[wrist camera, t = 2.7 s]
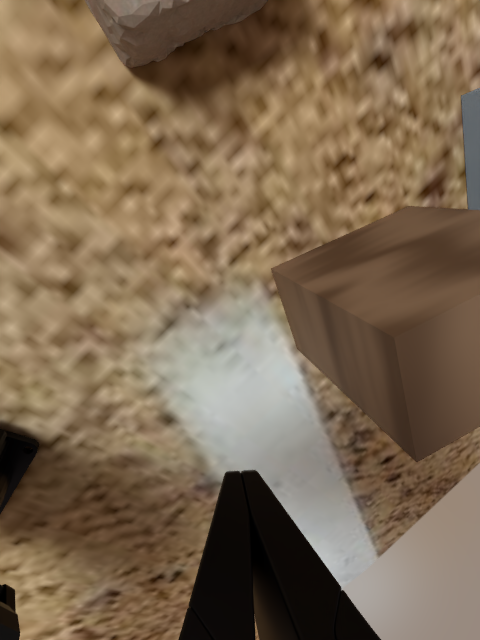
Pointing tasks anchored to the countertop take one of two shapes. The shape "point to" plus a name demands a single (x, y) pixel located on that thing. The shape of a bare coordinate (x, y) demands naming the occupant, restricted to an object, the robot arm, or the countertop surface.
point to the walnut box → (396, 321)
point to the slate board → (472, 146)
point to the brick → (163, 24)
